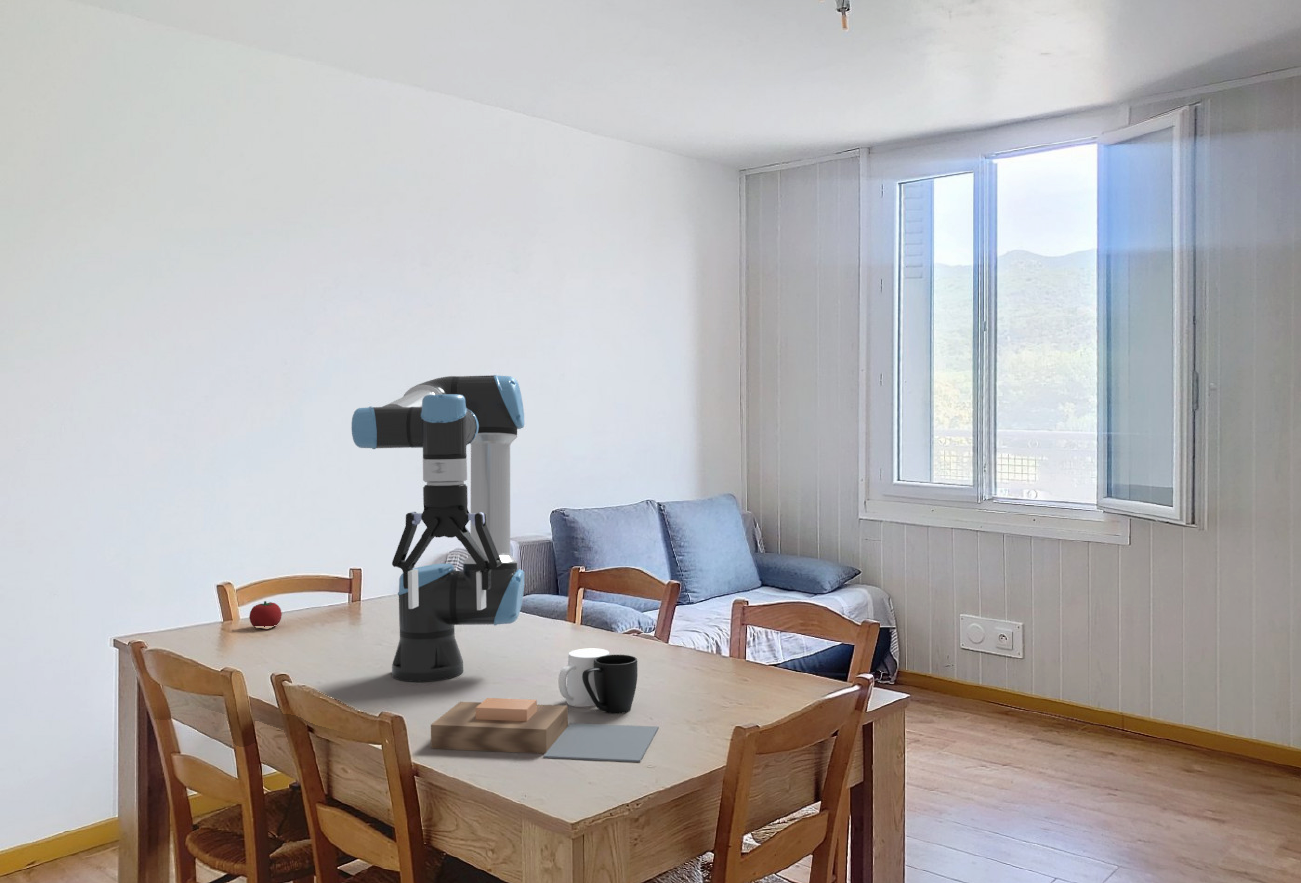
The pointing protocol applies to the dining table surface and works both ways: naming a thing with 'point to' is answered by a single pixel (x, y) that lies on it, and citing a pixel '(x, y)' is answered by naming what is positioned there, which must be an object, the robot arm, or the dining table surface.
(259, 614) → the tomato
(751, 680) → the dining table surface
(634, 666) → the mug
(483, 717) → the tile
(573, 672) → the mug
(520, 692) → the dining table surface
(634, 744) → the mat
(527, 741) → the block
